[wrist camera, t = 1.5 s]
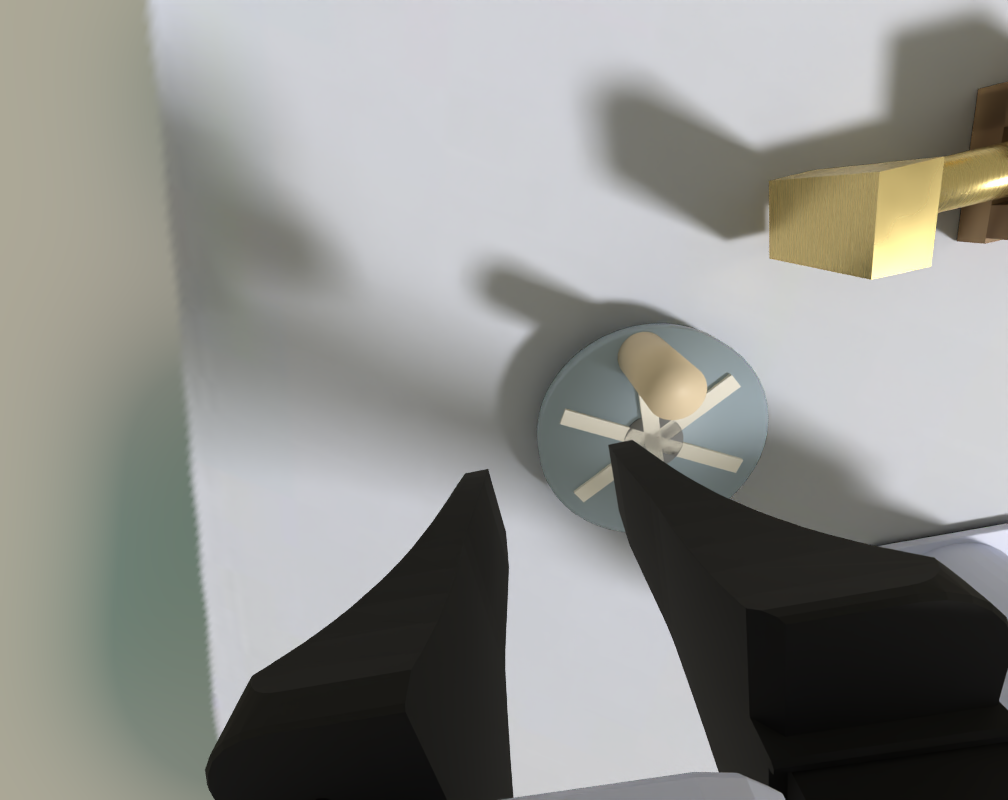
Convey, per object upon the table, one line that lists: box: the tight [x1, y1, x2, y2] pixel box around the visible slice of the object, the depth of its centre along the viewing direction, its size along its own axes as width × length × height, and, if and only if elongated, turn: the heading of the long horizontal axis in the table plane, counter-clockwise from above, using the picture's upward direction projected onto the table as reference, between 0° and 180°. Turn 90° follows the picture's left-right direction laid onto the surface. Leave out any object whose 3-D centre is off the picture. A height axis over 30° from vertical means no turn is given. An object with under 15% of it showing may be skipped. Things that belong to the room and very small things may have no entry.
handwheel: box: [537, 323, 768, 532], centre depth 19 cm, size 10×10×5 cm
